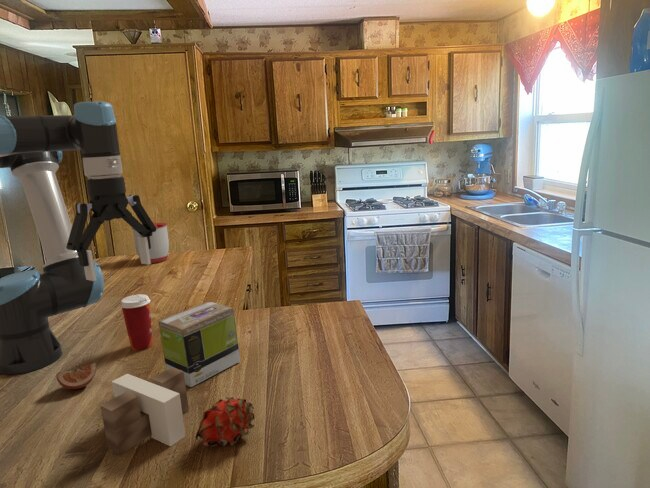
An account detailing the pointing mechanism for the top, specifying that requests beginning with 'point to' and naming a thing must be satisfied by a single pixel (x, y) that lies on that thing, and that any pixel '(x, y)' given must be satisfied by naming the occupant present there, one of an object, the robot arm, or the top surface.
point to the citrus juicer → (156, 243)
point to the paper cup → (138, 321)
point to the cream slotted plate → (155, 407)
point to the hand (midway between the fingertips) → (120, 271)
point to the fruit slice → (77, 377)
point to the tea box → (200, 341)
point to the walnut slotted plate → (137, 413)
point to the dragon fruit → (226, 421)
